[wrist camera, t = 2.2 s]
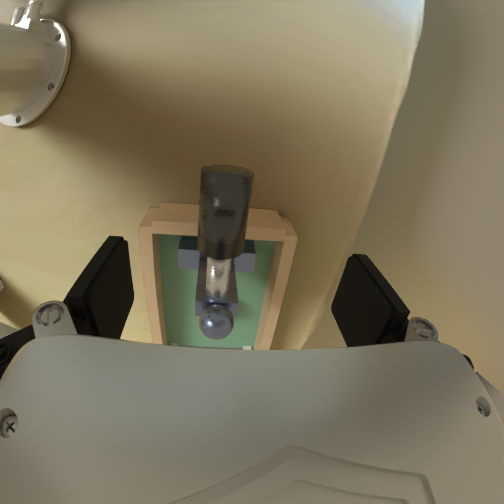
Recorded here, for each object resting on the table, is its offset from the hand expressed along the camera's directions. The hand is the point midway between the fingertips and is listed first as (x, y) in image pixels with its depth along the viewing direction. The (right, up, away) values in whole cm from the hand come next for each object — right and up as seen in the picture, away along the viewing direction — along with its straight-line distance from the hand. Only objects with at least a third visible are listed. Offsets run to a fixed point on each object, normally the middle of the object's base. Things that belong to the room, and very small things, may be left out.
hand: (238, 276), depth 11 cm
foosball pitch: (-4, -6, +22) cm, 23 cm away
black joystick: (-2, +5, +14) cm, 15 cm away
